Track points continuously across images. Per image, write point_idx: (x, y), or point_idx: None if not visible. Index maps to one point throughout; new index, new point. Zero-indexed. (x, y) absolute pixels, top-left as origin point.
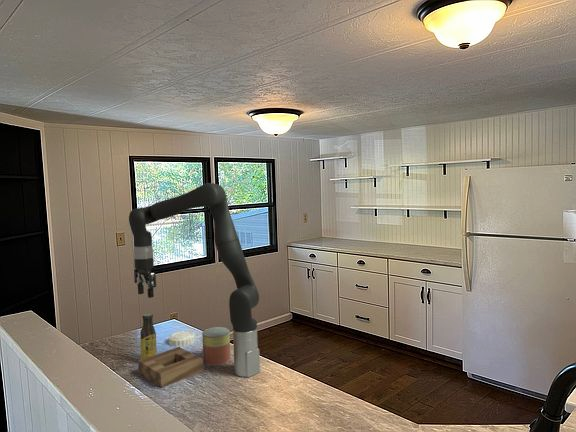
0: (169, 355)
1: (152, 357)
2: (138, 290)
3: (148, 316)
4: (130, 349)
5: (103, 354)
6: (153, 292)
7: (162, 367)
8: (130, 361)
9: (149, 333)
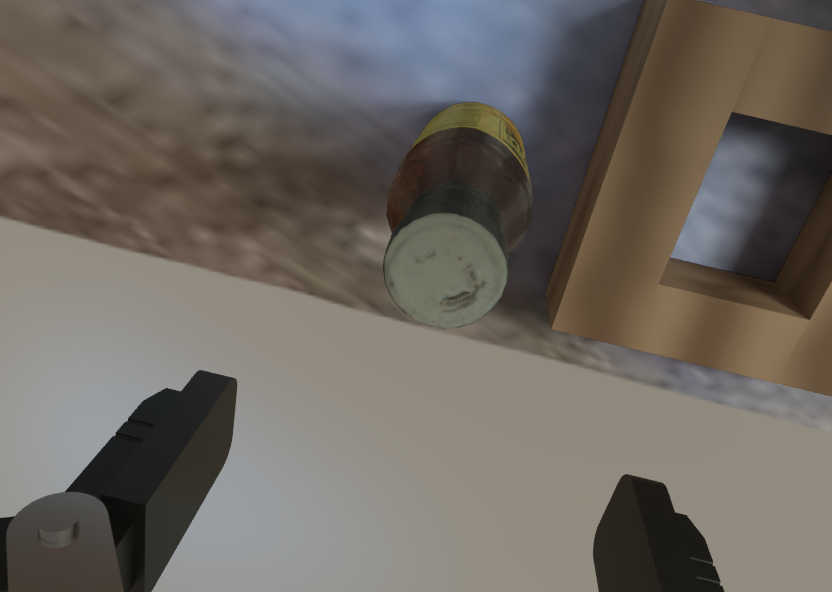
0: (707, 166)
1: (610, 255)
2: (189, 511)
3: (497, 300)
4: (172, 69)
5: (116, 218)
6: (686, 547)
7: (800, 335)
8: (360, 208)
9: (517, 243)
